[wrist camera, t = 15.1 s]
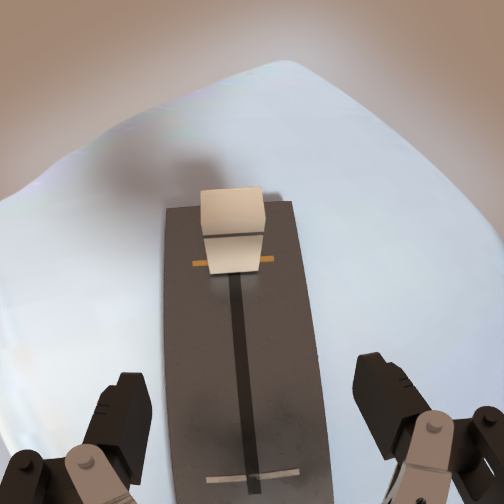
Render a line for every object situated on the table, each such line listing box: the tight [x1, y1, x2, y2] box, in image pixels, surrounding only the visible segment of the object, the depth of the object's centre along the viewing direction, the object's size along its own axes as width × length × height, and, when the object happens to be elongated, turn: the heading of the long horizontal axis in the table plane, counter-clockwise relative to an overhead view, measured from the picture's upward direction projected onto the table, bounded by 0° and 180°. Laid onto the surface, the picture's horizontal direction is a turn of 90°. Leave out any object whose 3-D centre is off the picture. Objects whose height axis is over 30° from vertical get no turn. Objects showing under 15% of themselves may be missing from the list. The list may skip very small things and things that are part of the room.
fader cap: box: [200, 187, 266, 274], centre depth 24 cm, size 2×4×8 cm, turn 95°
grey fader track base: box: [164, 201, 334, 504], centre depth 25 cm, size 30×12×2 cm, turn 5°
